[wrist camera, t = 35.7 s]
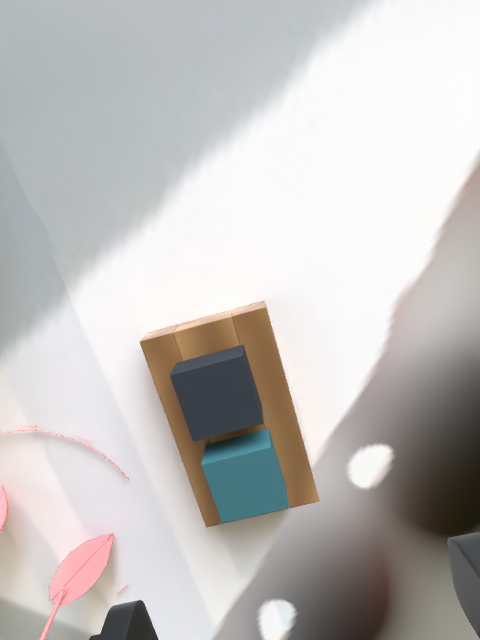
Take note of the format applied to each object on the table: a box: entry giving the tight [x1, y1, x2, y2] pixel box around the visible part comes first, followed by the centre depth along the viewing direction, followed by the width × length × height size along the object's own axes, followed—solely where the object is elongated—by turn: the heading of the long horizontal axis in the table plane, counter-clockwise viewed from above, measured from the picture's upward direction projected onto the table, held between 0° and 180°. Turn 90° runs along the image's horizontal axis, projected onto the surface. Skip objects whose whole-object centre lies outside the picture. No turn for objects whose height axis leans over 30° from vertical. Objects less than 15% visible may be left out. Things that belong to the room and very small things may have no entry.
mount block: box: [140, 301, 319, 527], centre depth 34 cm, size 11×19×3 cm, turn 16°
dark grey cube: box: [170, 345, 264, 442], centre depth 31 cm, size 6×6×6 cm
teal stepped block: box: [201, 429, 289, 523], centre depth 33 cm, size 6×6×6 cm
